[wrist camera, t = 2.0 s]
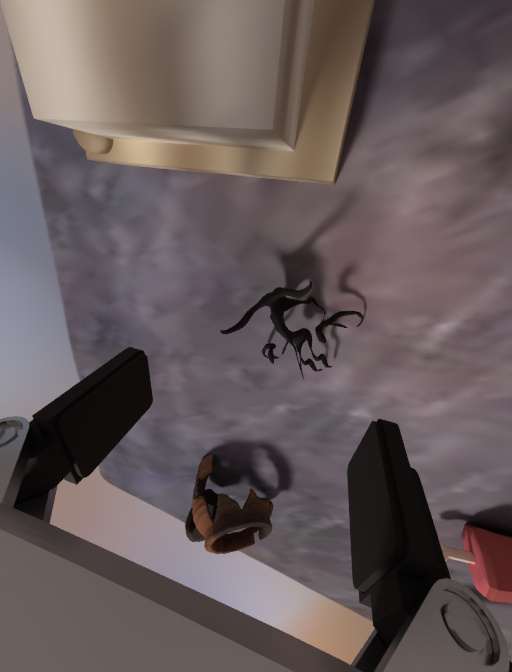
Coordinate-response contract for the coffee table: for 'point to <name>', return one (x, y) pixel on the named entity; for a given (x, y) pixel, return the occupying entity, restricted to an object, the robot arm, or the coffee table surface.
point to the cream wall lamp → (196, 80)
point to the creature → (278, 307)
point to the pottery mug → (225, 516)
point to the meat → (486, 561)
